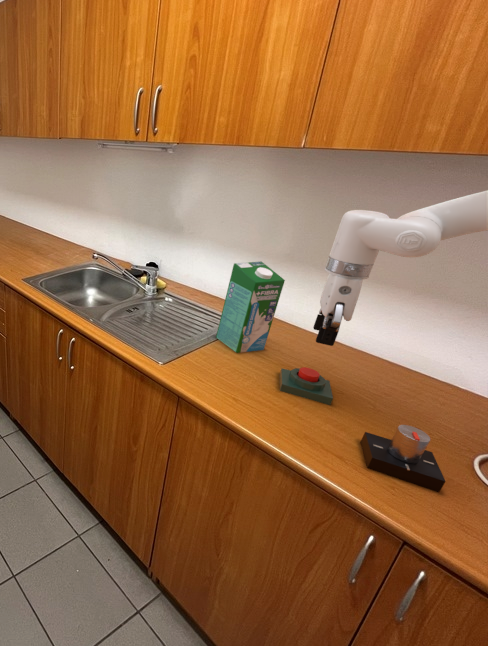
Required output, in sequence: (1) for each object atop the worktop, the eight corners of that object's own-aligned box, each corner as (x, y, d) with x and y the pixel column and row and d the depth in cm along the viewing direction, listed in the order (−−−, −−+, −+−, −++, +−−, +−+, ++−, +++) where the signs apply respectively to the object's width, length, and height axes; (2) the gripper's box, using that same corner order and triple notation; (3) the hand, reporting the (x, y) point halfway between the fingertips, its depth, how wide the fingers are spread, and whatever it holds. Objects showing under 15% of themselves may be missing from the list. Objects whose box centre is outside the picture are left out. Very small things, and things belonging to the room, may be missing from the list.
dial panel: (425, 462, 79) (432, 450, 78) (439, 494, 72) (446, 482, 71) (359, 441, 84) (365, 430, 83) (367, 469, 78) (373, 457, 76)
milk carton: (236, 353, 115) (258, 274, 106) (215, 337, 123) (233, 262, 114) (264, 350, 116) (287, 272, 107) (241, 334, 125) (261, 260, 115)
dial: (384, 442, 80) (395, 420, 78) (414, 451, 78) (427, 429, 75) (390, 457, 77) (401, 434, 74) (421, 467, 74) (434, 444, 72)
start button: (317, 376, 99) (319, 370, 98) (318, 384, 96) (320, 378, 95) (297, 371, 101) (299, 365, 101) (298, 379, 98) (300, 373, 97)
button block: (326, 387, 101) (331, 374, 99) (330, 405, 94) (335, 392, 93) (279, 374, 106) (283, 362, 104) (279, 391, 100) (284, 378, 98)
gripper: (379, 283, 78) (348, 359, 85) (363, 258, 92) (338, 325, 99) (330, 276, 82) (305, 349, 89) (322, 253, 96) (301, 318, 103)
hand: (322, 336), depth 94 cm, fingers open, 6 cm apart
